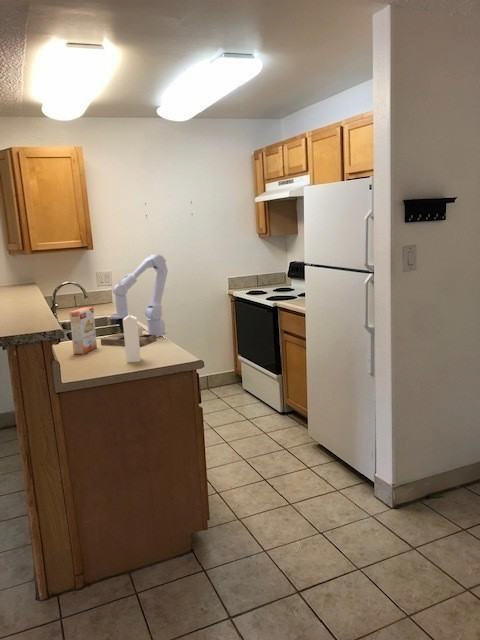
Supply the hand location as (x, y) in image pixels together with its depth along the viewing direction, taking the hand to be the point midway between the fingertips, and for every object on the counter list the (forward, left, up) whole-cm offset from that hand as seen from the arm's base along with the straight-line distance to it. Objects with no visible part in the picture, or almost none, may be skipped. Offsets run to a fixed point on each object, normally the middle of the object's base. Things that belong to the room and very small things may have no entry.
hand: (124, 332), depth 281 cm
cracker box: (+24, -6, -5) cm, 25 cm away
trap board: (+4, +5, -4) cm, 8 cm away
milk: (+35, +30, -5) cm, 46 cm away
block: (0, +8, -1) cm, 8 cm away
